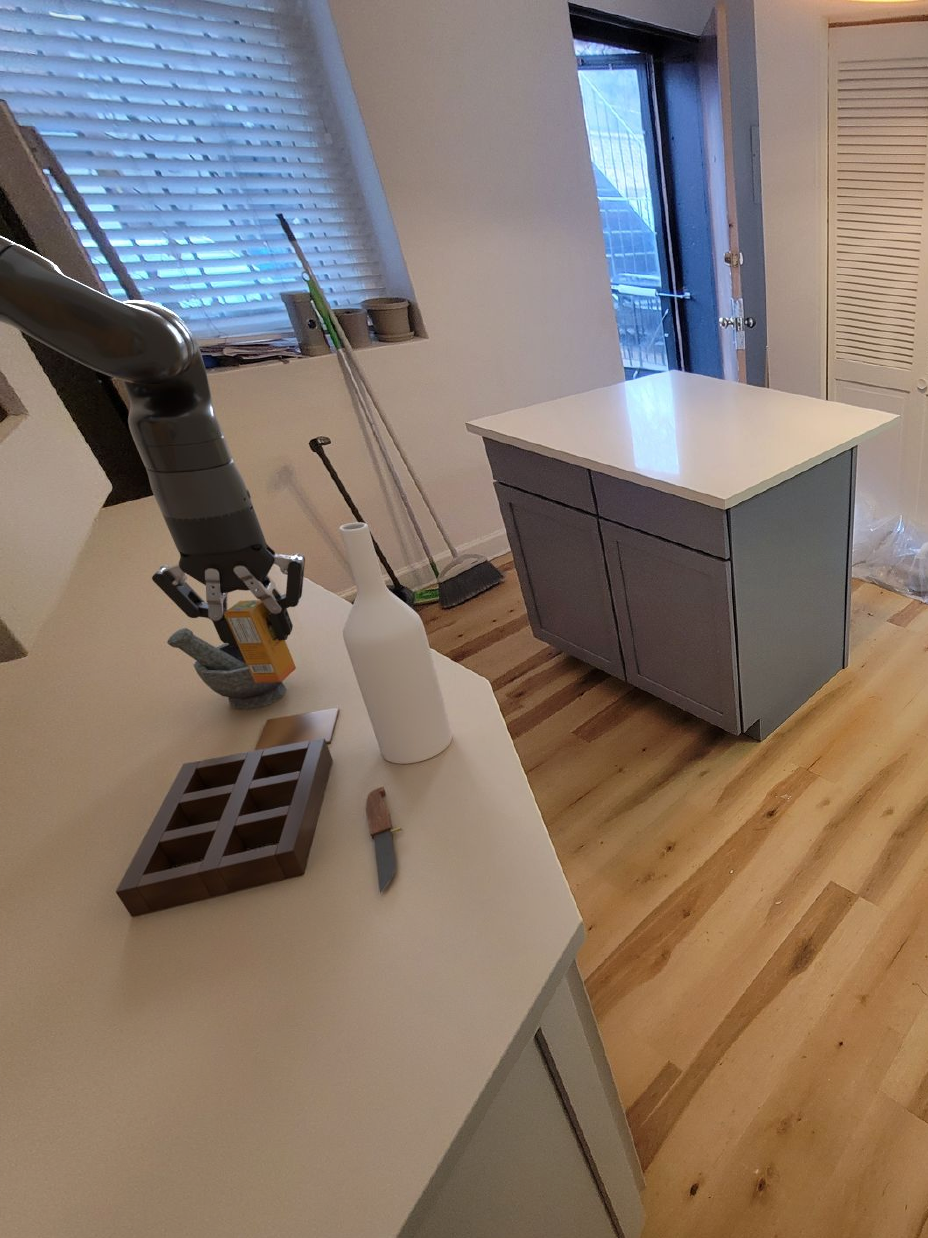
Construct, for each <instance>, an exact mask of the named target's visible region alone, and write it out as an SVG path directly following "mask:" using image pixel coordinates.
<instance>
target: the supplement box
mask: <svg viewBox="0 0 928 1238" xmlns="http://www.w3.org/2000/svg"><path fill="white" fill-rule="evenodd" d="M269 613H270V611H269V610H268V609H267V607H266V606H265V605H264V604H263V603H262V601H261V600H260V599H248V600H247V599H246V600H239V601H238V602H236V603H235V604H234V605H232V606H230V607H229V608H228V609H227V611H226V612H224V616H225V618H226V620H227V622H228V625H229V627H230V629H231V631H232V633H233V635H234V638H235V640H236V642H237V644H238V646H239V648H240V651H241V653H242V655H243V657H244V659H245V661H246V664H247V666H248V668H249V670H250V672H251V674H252V676H253V679H254V681H255V682H256V683H272V682H282V683H283V682H284V681H285V680H286V679H287V677H289V675H290V674H292V673H293V672H294V671H295V670H296V668H297V667H296V664H295V661H294V659H293V656H292V653H291V652H290V649H289V647H288V644H287V642H286V640H282V641H279V640H278V639H277V636H276V633H275V631H274V628H273V626H272V623H271V620H270V618H269Z"/></svg>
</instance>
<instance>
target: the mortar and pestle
mask: <svg viewBox="0 0 928 1238" xmlns="http://www.w3.org/2000/svg"><path fill="white" fill-rule="evenodd" d="M167 644H168V645H169V646H170V647H172V648H176V649H179V650H181V652H184V653H185V654H186V655H188V656H189V657H190V658H192V659H194V660H195V662H194V663H193V667H194V669H195V671H196V674H197V675H198V676H199V678H200V679H201V680H202V682H203V683H204V684H205V685H206V686H207V687H208V688H210V690H212V691H213V692H215V693H216V694H218V695H220V696H221V697H224V698H228V701H229V704H230V705H231V706H232V707H233V708H234V709H236V710H253V709H258V708H262V707H266V706H269V705H271V704H273V703H275V702H276V701H279V700H280V699H282V698H283V697H284V696H285V694H286V692H287V688H286V686H285V684H284V683H283V682H272V683H256V682H255V681H254V679H253V676H252V674H251V672H250V670H249V668H248V666H247V664H246V661H245V659H244V657H243V655H242V653H241V651H240V648H239V646H235V647H230V646H229V644H228V643H223V644H221V645H218V646H214V645H213V644H211V643H209V642H207V641H206V640H204V639H202V638H201V637H198V636H196V635H195V634H194V633H193V631H192V630H191V629H189V628H188V627H182V628H180V629H178V630H176V631H175V632H173V633H172V634H171V635H170V636H169V638H168V639H167Z"/></svg>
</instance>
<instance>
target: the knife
mask: <svg viewBox="0 0 928 1238" xmlns="http://www.w3.org/2000/svg"><path fill="white" fill-rule="evenodd" d="M386 796H387V794H386V790H385V787H384V786H380V787H378V788H375V789H373V790H372V791H370V792H369V793H368V795H367V798H366V803H365V812H366V818H367V823H368V830H369V836H370V838H371V841H373V844H374V853H375V861H376V862H375V863H376V869H377V870H376V872H377V881H378V889H379V894H382V892H383V891H384V889H385V888H386V887H387V885H388V884H389V883H390V882H391V880H392V879H393V878H394V877H393V876H394V874H395V871H396V866H397V865H396V858H395V849H394V840H393V834H395V833H398V832H401V831H403V830H404V829H403V826H400V827H396V828H394V829H393V824H392V820H391V816H390V813H389V810H388V808H387V806H386V803H385V801H384V799H383V798H384V797H386Z"/></svg>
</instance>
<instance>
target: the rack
mask: <svg viewBox="0 0 928 1238" xmlns="http://www.w3.org/2000/svg"><path fill="white" fill-rule="evenodd" d="M333 761H334V759H333V757H332V754H331V752H330V748H329V746H328V744H327V743H326V741H325V738H322V739H316V740H311V741H305V742H299V743H294V744H289V745H283V746H278V747H272V748H267V749H261V750H256V751H254V750H251V751H246V752H241V753H234V754H230V755H223V756H218V757H212V758H207V759H202V760H197V761H190V762H185V763H183V764H182V765H181V767H180V768H179V771H178V773H177V775H176V777H175V779H174V781H173V782H172V784H171V786H170V788H169V790H168V791H167V793H166V795H165V798H164V799H163V801H162V803H161V805H160V807H159V808H158V811H157V813H156V815H155V816H154V818H153V820H152V821H151V824H150V825H149V827H148V829H147V831H146V833H145V835H144V837H143V838H142V840H141V842H140V845H139V847H138V848H137V850H136V852H135V855H134V856H133V858H132V860H131V862H130V863H129V865H128V867H127V869H126V871H125V873H124V875H123V877H122V878H121V881H120V882H119V884H118V886H117V888H116V890H115V894H116V895H117V897H118V898H119V900H120V901H121V902H122V905H123V906H124V907H125V910H126V911H127V912H128V914H129V915H130V917H131V918H134V917H137V916H142V915H147V914H149V913H154V912H159V911H162V910H167V909H170V908H174V907H178V906H182V905H186V904H190V903H195V902H198V901H199V902H200V901H202V900H206V899H210V898H215V897H219V896H223V895H227V894H231V893H235V892H239V891H245V890H248V889H252V888H256V887H260V886H263V885H267V884H272V883H275V882H276V883H277V882H280V881H284V880H286V879H291V878H295V877H300V876H303V875H305V872H306V868H307V863H308V860H309V856H310V851H311V848H312V843H313V840H314V836H315V832H316V828H317V824H318V820H319V817H320V813H321V808H322V805H323V801H324V796H325V792H326V789H327V784H328V781H329V780H328V779H329V776H330V773H331V770H332V765H333ZM277 843H278V844H277ZM256 848H257V849H256ZM246 850H247V851H246ZM194 862H195V863H194ZM185 864H186V865H185ZM177 866H178V867H177Z"/></svg>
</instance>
